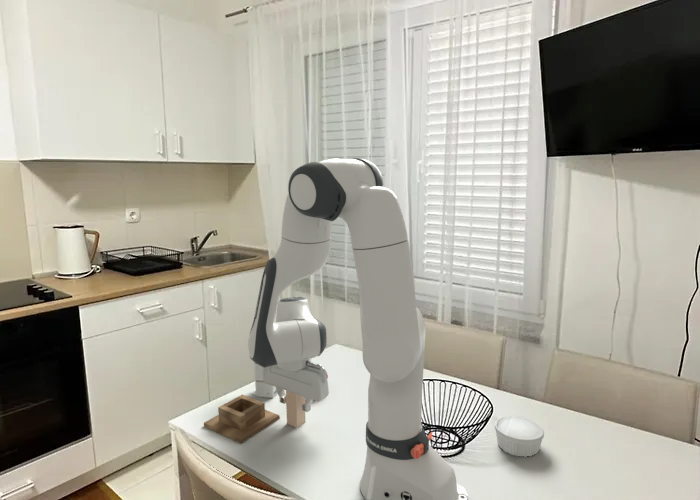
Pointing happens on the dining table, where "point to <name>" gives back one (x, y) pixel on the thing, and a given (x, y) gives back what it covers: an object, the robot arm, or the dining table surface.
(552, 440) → the dining table surface
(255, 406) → the wooden peg socket base
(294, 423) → the peach rectangular block
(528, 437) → the ramekin
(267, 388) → the syrup box
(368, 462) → the robot arm
